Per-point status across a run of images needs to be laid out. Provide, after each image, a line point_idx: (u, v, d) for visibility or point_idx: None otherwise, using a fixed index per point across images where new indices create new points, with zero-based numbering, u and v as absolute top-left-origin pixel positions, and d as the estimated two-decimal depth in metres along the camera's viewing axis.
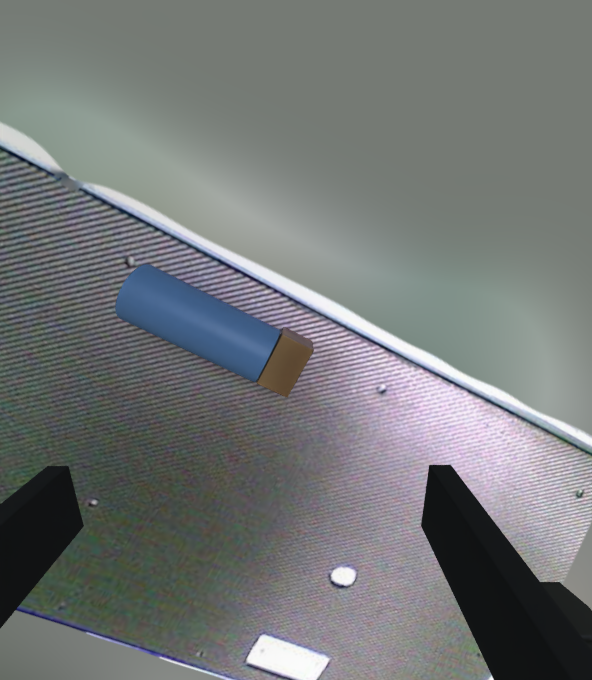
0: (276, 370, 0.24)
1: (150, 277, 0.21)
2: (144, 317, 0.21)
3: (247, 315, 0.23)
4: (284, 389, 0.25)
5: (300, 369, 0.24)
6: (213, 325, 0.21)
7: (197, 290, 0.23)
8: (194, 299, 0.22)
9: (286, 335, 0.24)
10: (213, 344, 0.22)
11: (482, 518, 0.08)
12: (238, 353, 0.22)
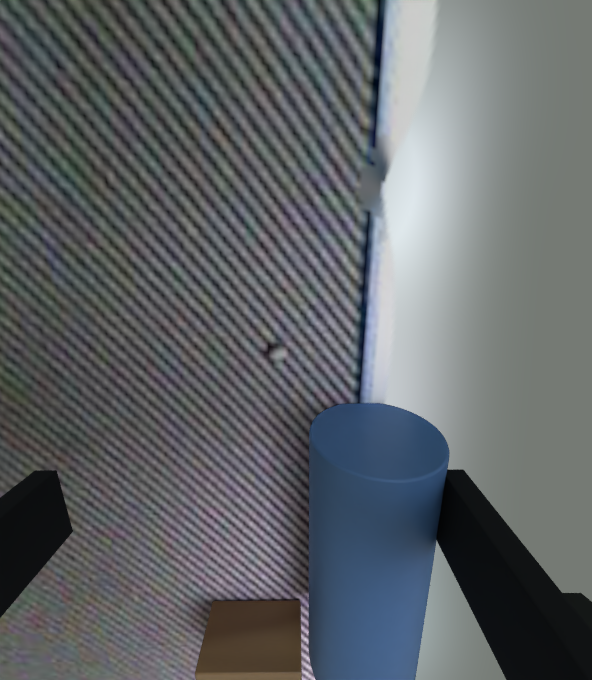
0: None
1: None
2: None
3: None
4: None
5: None
6: None
7: None
8: None
9: None
10: None
11: (499, 525, 0.08)
12: None
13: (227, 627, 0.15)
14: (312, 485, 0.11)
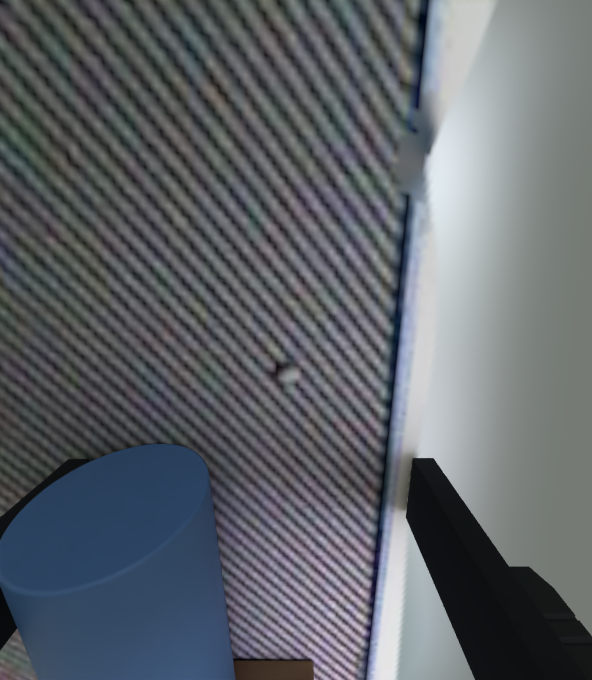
0: None
1: (121, 620, 0.06)
2: None
3: None
4: None
5: None
6: None
7: (195, 661, 0.08)
8: None
9: None
10: None
11: (459, 507, 0.08)
12: None
13: None
14: None
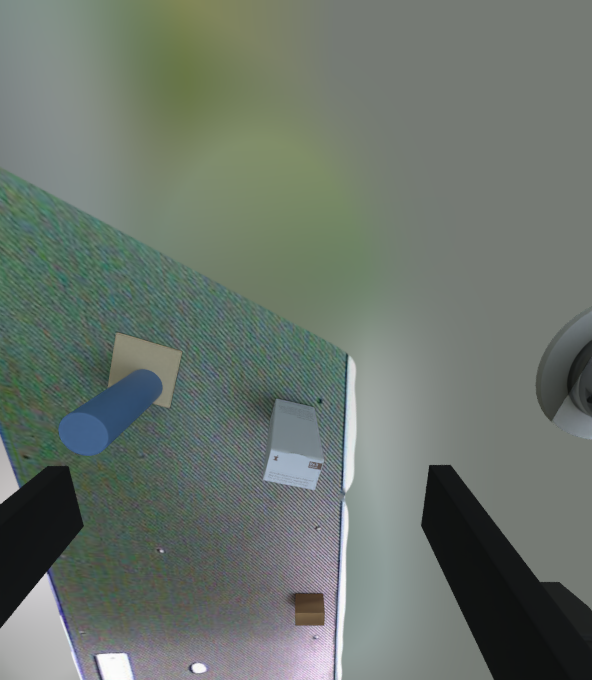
0: (306, 617, 0.48)
1: (115, 427, 0.30)
2: None
3: (147, 385, 0.37)
4: (299, 623, 0.49)
5: (312, 624, 0.49)
6: (144, 409, 0.36)
7: (127, 401, 0.32)
8: (134, 410, 0.33)
9: None
10: None
11: (482, 518, 0.08)
12: None
13: (301, 601, 0.50)
14: (83, 404, 0.30)
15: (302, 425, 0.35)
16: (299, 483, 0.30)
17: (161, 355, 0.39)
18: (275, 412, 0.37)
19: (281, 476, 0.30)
